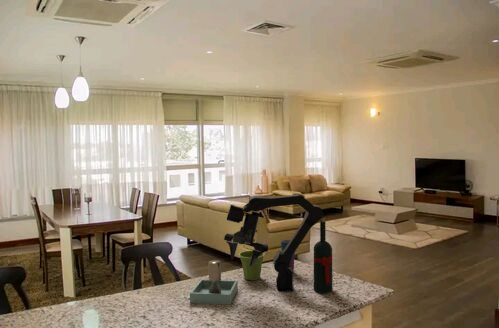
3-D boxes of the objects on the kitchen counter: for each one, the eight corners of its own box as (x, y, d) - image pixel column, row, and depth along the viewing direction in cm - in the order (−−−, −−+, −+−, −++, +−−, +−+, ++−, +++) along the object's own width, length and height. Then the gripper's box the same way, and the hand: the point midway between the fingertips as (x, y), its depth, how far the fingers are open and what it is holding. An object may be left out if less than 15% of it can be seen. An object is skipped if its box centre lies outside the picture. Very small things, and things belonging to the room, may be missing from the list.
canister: (222, 291, 166) (221, 260, 166) (219, 296, 161) (219, 264, 161) (210, 291, 167) (210, 260, 166) (207, 295, 162) (206, 263, 161)
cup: (294, 274, 188) (294, 243, 188) (280, 274, 190) (280, 242, 189) (296, 270, 195) (295, 239, 194) (282, 269, 196) (281, 239, 196)
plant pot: (233, 278, 185) (233, 254, 185) (252, 272, 193) (252, 249, 193) (251, 284, 177) (251, 259, 176) (270, 278, 185) (270, 253, 184)
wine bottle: (319, 296, 161) (319, 222, 160) (310, 287, 171) (310, 217, 170) (338, 294, 163) (338, 221, 162) (328, 286, 173) (327, 216, 171)
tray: (237, 289, 171) (237, 280, 170) (230, 304, 155) (229, 294, 155) (201, 288, 173) (200, 279, 173) (189, 302, 157) (189, 293, 157)
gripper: (221, 219, 166) (212, 257, 165) (261, 231, 157) (251, 270, 156) (234, 220, 176) (226, 256, 175) (272, 231, 167) (263, 269, 166)
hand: (241, 262), depth 168 cm, fingers open, 9 cm apart
